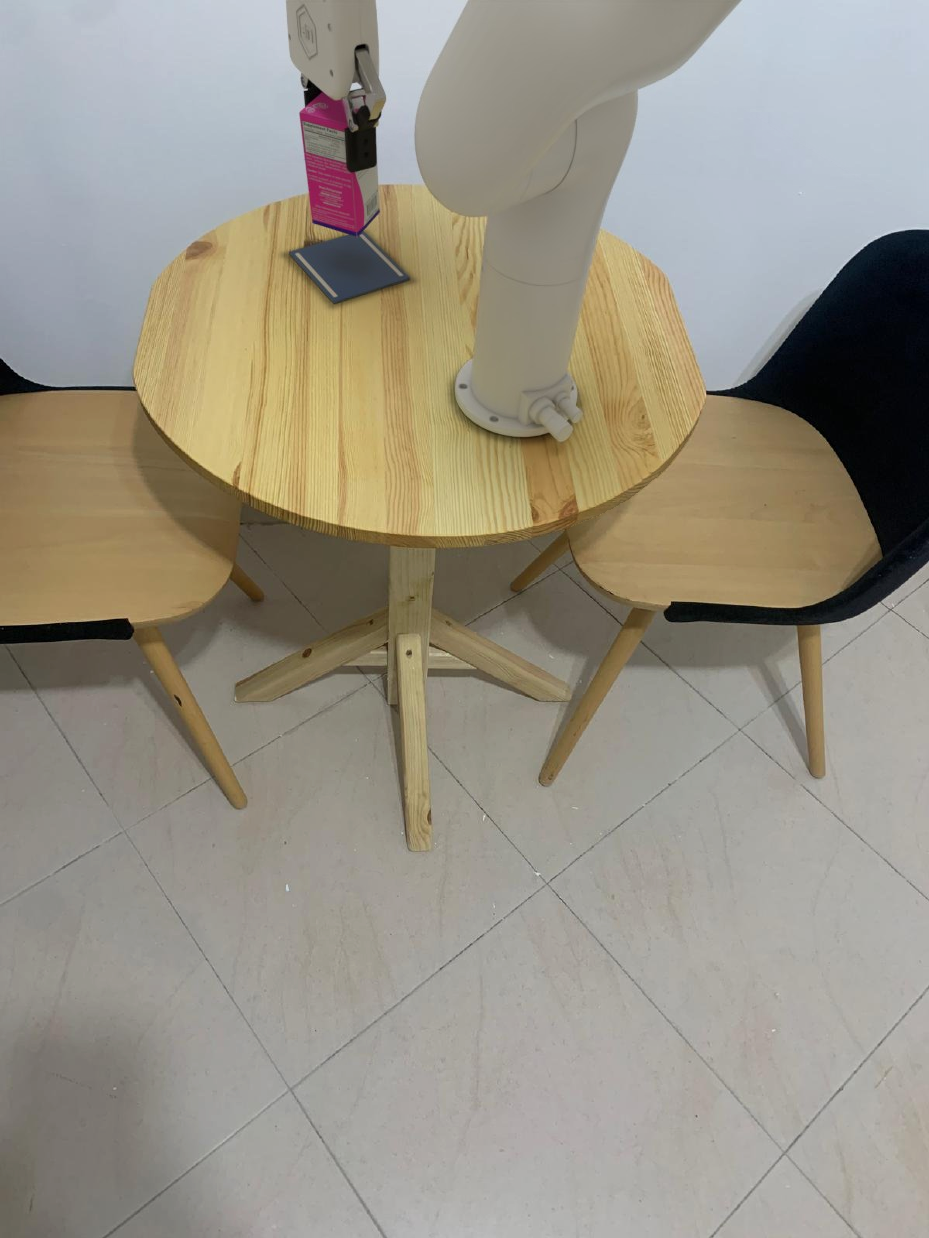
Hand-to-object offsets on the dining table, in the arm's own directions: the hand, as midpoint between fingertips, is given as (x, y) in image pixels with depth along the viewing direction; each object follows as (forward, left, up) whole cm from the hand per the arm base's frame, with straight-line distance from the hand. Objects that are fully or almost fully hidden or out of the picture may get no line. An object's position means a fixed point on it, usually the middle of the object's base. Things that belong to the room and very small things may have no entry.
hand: (341, 148), depth 80 cm
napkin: (0, 0, -13) cm, 13 cm away
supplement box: (0, 0, -8) cm, 8 cm away
